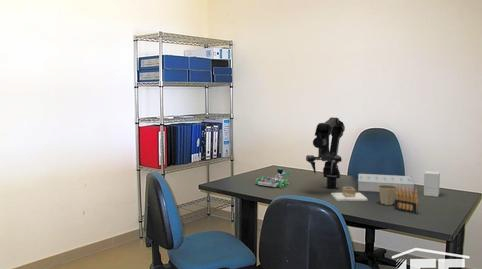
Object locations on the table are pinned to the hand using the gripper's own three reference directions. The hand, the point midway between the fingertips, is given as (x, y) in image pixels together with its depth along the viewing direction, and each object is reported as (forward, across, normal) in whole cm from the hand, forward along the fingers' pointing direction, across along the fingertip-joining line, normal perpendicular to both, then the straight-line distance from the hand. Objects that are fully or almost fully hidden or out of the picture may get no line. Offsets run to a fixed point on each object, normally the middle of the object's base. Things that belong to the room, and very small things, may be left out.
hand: (323, 173), depth 232 cm
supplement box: (+11, +59, -4) cm, 60 cm away
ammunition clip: (+11, +32, -36) cm, 49 cm away
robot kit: (+12, -24, +25) cm, 36 cm away
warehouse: (+12, +38, +10) cm, 41 cm away
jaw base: (+11, +12, -10) cm, 19 cm away
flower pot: (+11, +28, -22) cm, 37 cm away
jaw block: (+10, +12, -10) cm, 18 cm away
